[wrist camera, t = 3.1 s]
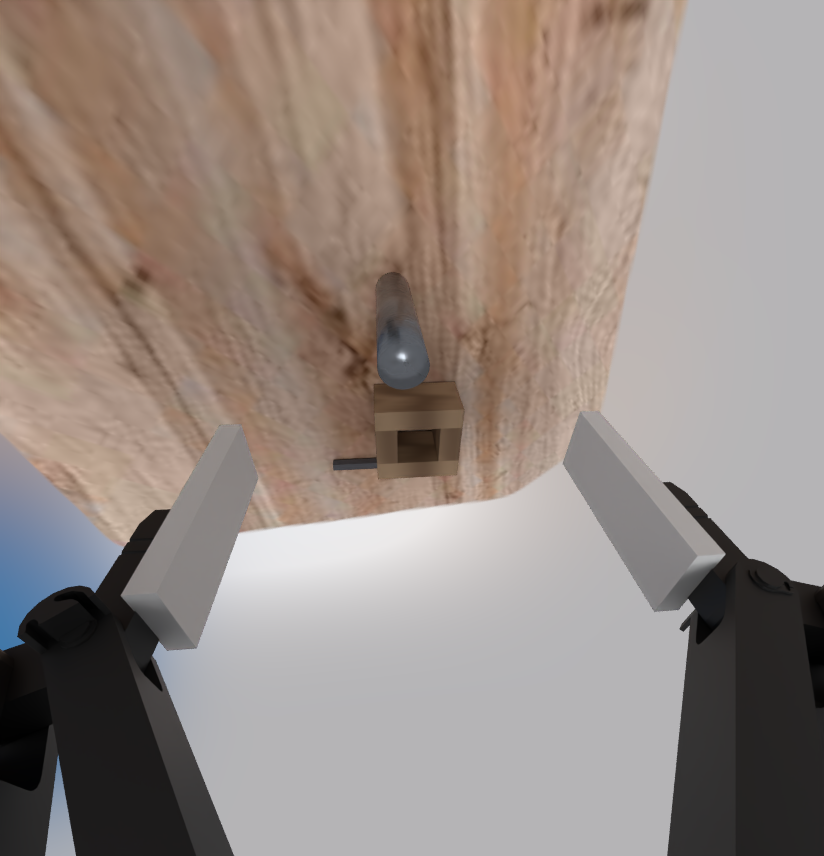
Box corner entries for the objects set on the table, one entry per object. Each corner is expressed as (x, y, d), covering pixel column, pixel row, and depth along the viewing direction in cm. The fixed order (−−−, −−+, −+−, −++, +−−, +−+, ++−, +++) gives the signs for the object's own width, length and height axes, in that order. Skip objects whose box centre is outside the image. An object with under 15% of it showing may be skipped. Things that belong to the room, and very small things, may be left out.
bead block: (377, 447, 41) (377, 479, 37) (373, 384, 36) (374, 413, 32) (448, 444, 41) (456, 475, 37) (454, 381, 37) (464, 409, 33)
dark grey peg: (376, 306, 32) (378, 390, 20) (375, 272, 30) (376, 343, 19) (409, 306, 32) (428, 388, 21) (409, 272, 30) (430, 341, 19)
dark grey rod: (334, 465, 42) (333, 470, 41) (333, 460, 41) (333, 465, 41) (455, 459, 43) (456, 464, 42) (456, 454, 43) (457, 459, 42)
